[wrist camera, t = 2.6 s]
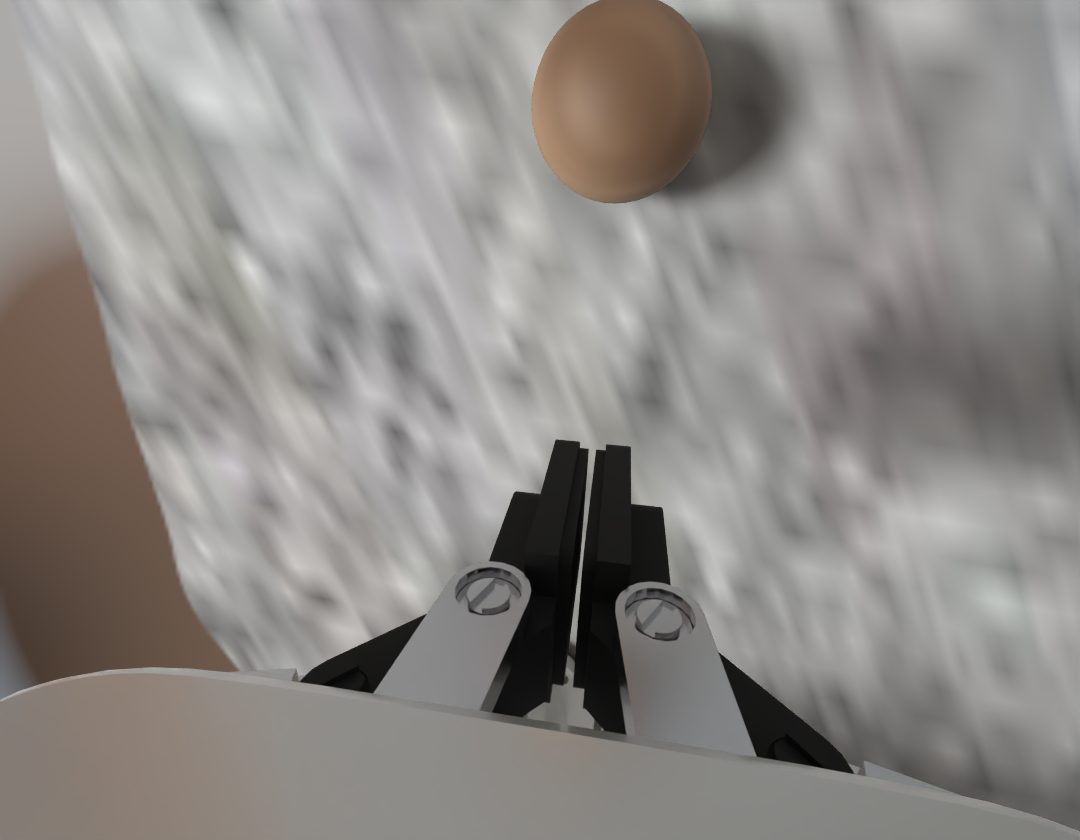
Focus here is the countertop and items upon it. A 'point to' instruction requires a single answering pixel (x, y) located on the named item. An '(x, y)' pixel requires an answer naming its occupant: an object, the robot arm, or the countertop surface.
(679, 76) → the brown egg
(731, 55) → the countertop surface
